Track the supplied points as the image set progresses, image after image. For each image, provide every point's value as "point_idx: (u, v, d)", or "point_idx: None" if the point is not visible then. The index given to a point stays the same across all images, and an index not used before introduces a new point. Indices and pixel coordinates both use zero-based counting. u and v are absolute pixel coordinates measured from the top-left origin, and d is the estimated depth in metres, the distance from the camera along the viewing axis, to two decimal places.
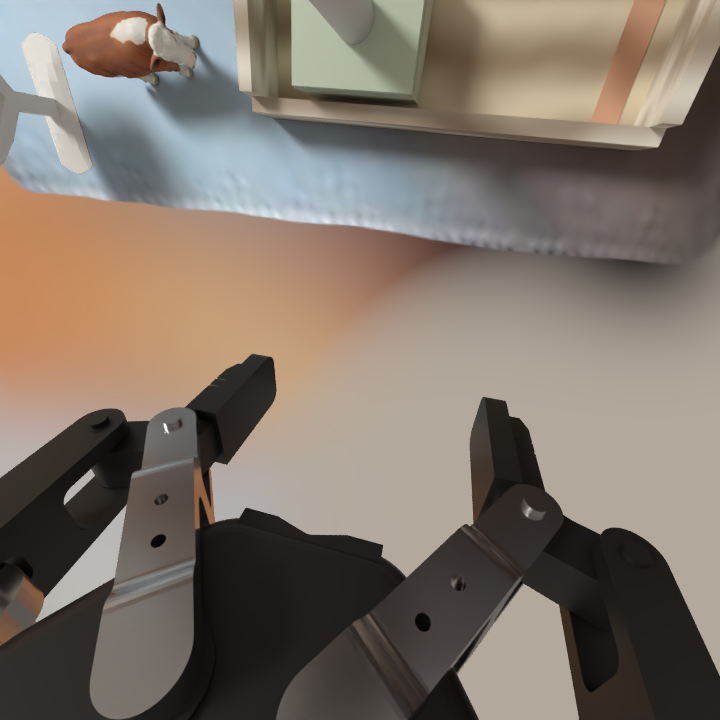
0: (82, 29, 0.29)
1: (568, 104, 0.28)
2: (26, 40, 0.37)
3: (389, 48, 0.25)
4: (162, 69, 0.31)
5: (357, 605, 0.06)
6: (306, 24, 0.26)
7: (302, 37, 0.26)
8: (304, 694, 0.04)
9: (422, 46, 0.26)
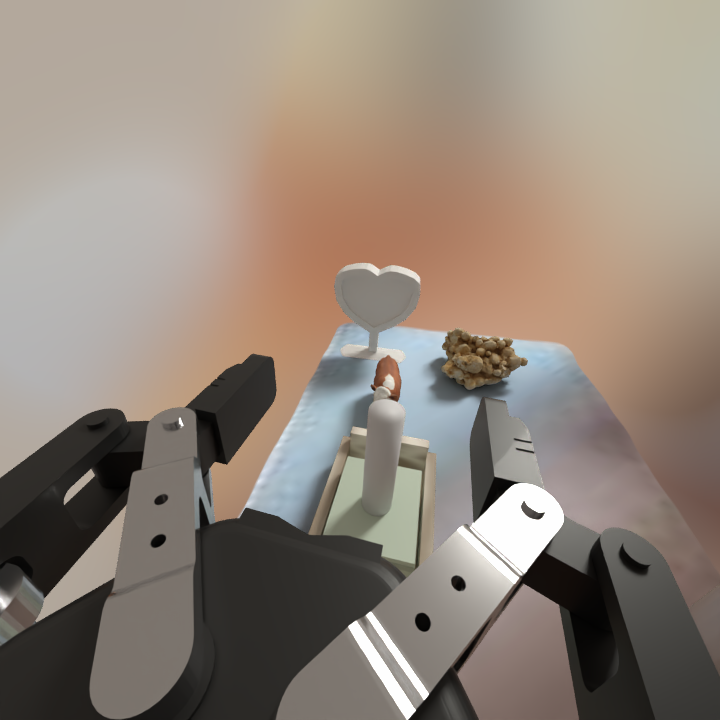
0: (394, 364, 0.54)
1: None
2: (403, 353, 0.70)
3: (354, 525, 0.31)
4: None
5: (357, 605, 0.06)
6: None
7: None
8: (304, 694, 0.04)
9: None
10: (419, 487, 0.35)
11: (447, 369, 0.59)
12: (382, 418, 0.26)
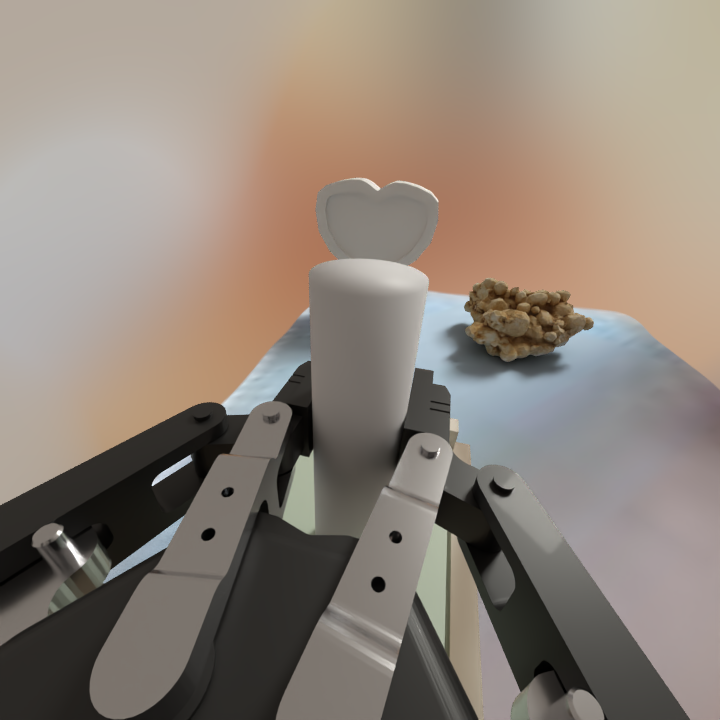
0: None
1: None
2: None
3: None
4: None
5: None
6: None
7: None
8: (304, 694, 0.04)
9: None
10: None
11: (475, 331, 0.40)
12: (351, 285, 0.08)
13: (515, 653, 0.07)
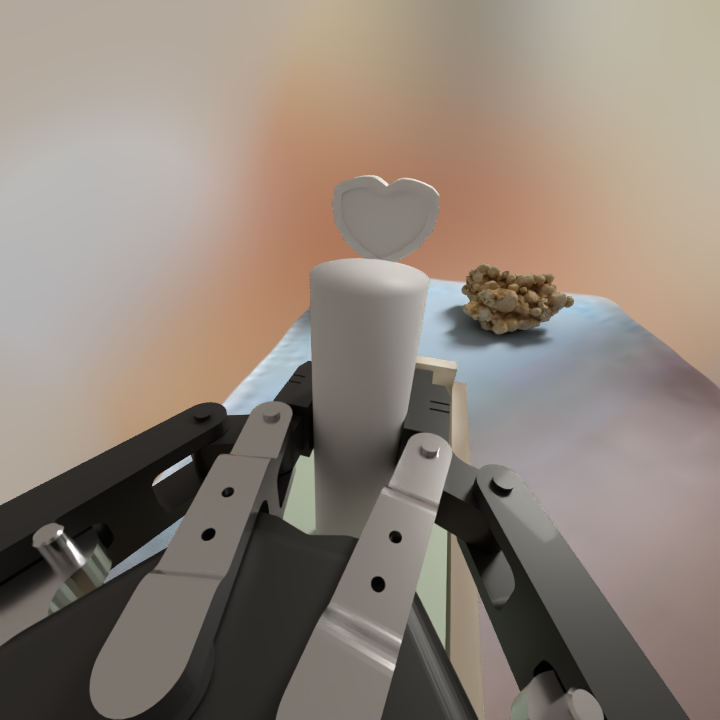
0: None
1: None
2: None
3: None
4: None
5: None
6: None
7: None
8: (304, 694, 0.04)
9: None
10: None
11: (470, 308, 0.46)
12: (352, 285, 0.08)
13: (514, 653, 0.07)
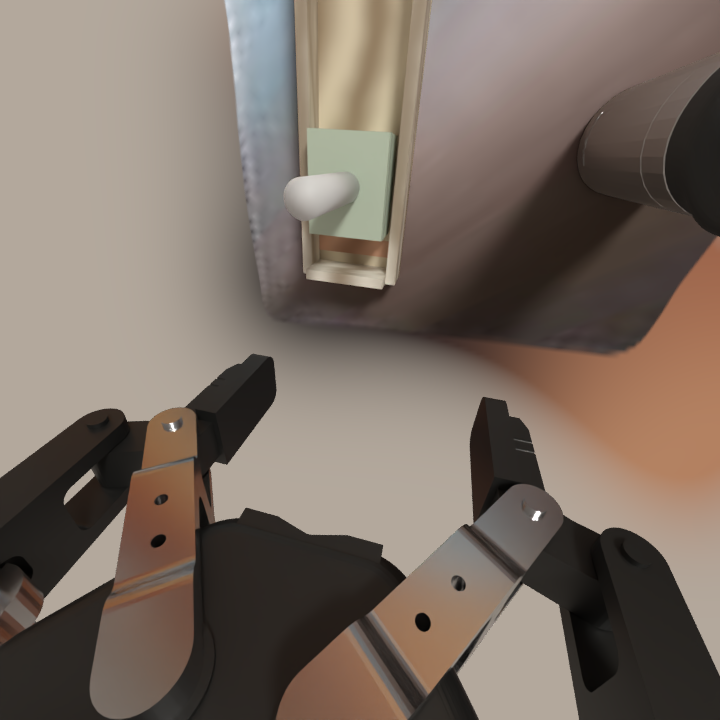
0: None
1: None
2: None
3: (330, 216, 0.37)
4: None
5: (357, 605, 0.06)
6: (342, 145, 0.33)
7: (335, 140, 0.33)
8: (304, 694, 0.04)
9: None
10: (386, 159, 0.33)
11: None
12: (300, 212, 0.26)
13: None
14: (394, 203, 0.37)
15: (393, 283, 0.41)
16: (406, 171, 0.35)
